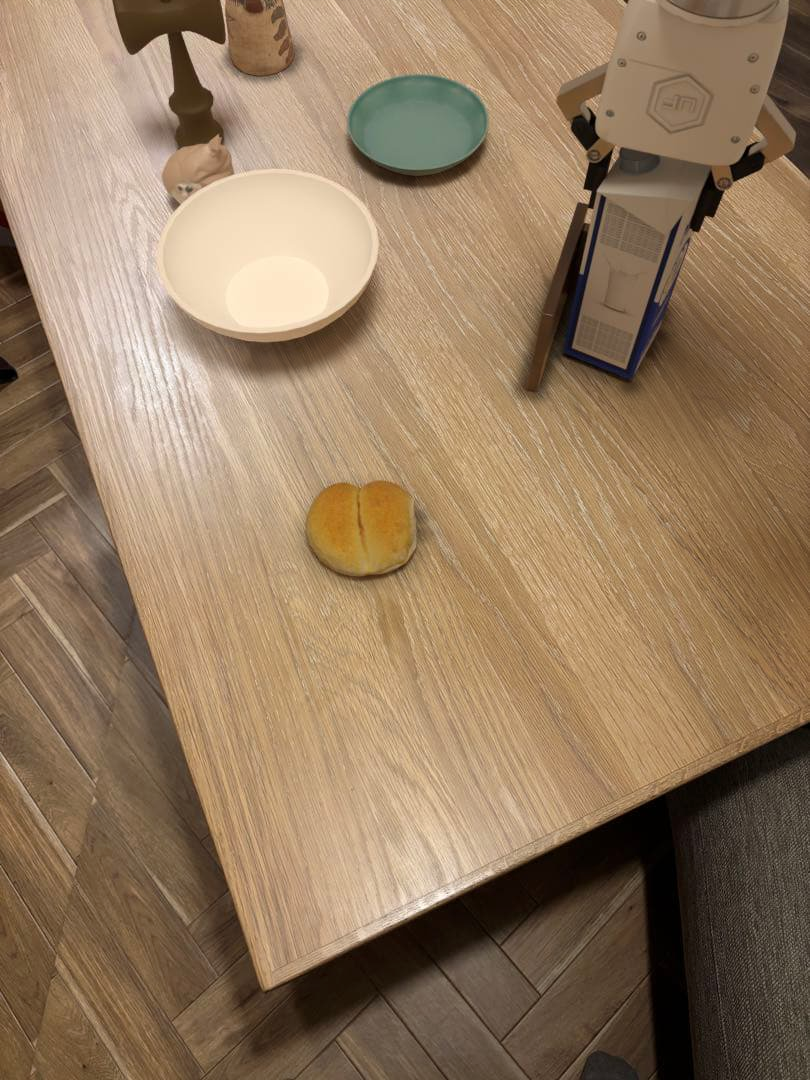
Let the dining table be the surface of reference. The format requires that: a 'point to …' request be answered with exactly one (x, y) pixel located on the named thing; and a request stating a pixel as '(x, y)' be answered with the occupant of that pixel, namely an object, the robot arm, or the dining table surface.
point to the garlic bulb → (196, 168)
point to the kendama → (177, 55)
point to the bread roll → (362, 527)
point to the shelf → (559, 292)
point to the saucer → (418, 123)
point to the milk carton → (632, 258)
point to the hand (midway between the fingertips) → (646, 206)
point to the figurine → (258, 36)
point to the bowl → (268, 254)
